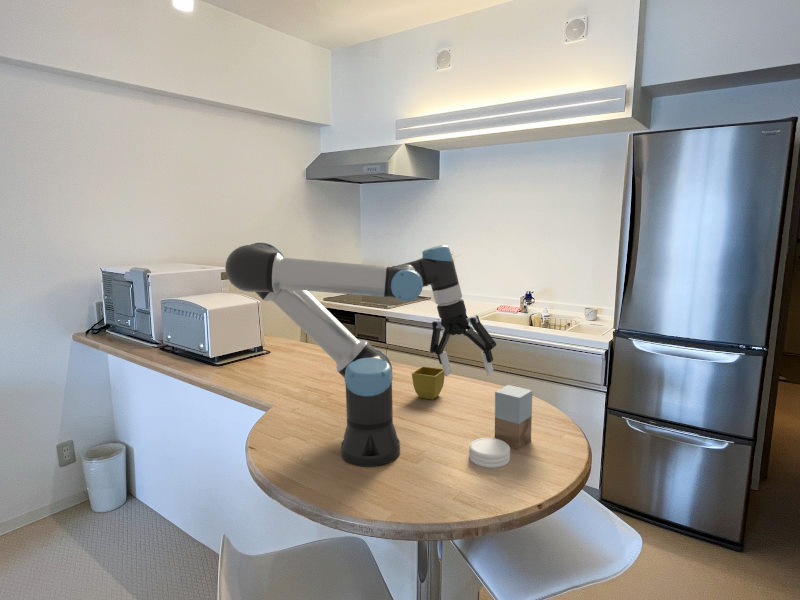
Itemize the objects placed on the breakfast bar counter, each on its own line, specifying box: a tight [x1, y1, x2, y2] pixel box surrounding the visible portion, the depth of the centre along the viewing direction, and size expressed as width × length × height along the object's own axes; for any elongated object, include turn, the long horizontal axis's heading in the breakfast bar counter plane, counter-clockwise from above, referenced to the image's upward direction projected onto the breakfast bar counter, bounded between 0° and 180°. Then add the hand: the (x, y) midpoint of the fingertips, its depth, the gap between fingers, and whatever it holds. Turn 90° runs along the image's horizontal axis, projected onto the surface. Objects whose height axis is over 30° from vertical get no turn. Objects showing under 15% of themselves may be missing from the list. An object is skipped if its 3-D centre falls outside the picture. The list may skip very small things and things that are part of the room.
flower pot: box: [411, 366, 446, 400], centre depth 162 cm, size 9×9×9 cm
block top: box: [494, 384, 533, 424], centre depth 127 cm, size 7×7×7 cm
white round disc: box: [468, 437, 511, 469], centre depth 120 cm, size 10×10×4 cm
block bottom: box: [494, 415, 533, 451], centre depth 128 cm, size 7×7×7 cm
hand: (468, 373), depth 135 cm, fingers open, 13 cm apart
